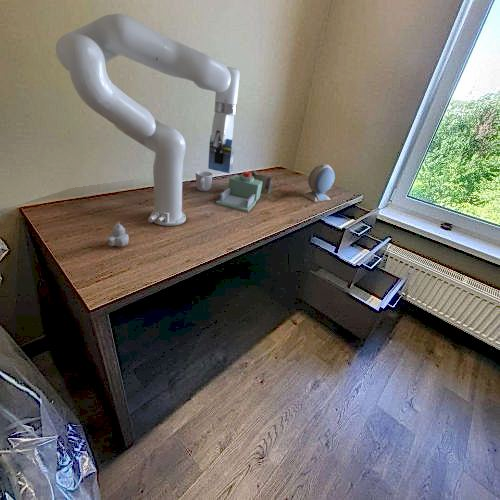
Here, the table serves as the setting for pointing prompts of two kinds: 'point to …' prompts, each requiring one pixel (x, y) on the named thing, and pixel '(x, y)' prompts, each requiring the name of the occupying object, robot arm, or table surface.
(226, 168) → the label tape box
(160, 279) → the table surface
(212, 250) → the table surface
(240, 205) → the drip tray
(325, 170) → the alarm clock
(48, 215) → the table surface
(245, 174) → the button
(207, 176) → the cup
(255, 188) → the red push button box
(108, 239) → the grey lumpy cone shape
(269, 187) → the architectural model on board
